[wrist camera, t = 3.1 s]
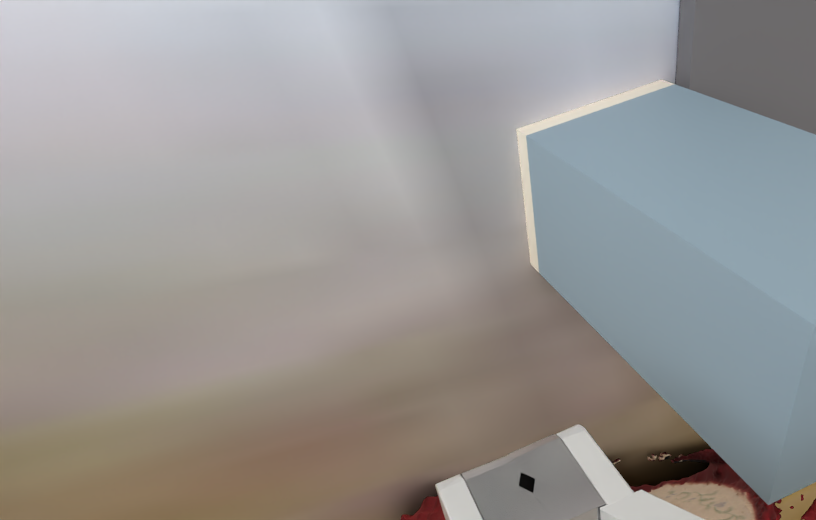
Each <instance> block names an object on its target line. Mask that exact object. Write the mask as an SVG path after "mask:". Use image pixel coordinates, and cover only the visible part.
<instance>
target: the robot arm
mask: <svg viewBox="0 0 816 520" xmlns="http://www.w3.org/2000/svg"><path fill="white" fill-rule="evenodd" d="M435 487H436V490H437V493H438V497H439V500H440V503H441V507H442V510H443V513H444V516H445V519H446V520H705V519H703V518H701V517H699V516H696V515H694V514H692V513H690V512H688V511H686V510H684V509H682V508H679V507H677V506H675V505H673V504H671V503H669V502H667V501H665V500H663V499H660V498H658V497H656V496H654V495H652V494H650V493H648V492H646V491H643V490H639V491H636V492H634V491H633V490H632V489H631V487H630V486H629V485H628V484H627V482H626V481H625V480H624V478H623V477H622V476H621V474H620V473H619V472H618V470H617V469H616V468H615V467H614V465H613V464H612V463H611V461H610V460H609V459H608V457H607V456H606V455H605V453H604V452H603V451H602V450H601V448H600V447H599V446H598V444H597V443H596V442H595V440H594V439H593V438H592V436H591V435H590V434H589V433H588V431H587V430H586V429H585V428H584V427H583V426H581V425H580V424H579V425H575V426H573V427H570V428H568V429H566V430H564V431H561V432H559V433H557V434H555V435H554V434H552V435H550V436H548V437H545V438H543V439H541V440H539V441H536V442H534V443H532V444H529V445H527V446H525V447H523V448H520V449H518V450H516V451H514V452H511V453H509V454H508V455H506V456H504V457H501V458H499V459H496V460H494V461H491V462H489V463H486V464H484V465H481V466H479V467H476V468H474V469H471V470H469V471H467V472H464V473H462V474H461V475H460V474H458V475H456V476H454V477H451V478H449V479H446V480H444V481H442V482H439V483H437V484H436V485H435Z"/></svg>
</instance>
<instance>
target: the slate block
mask: <svg viewBox="0 0 816 520" xmlns="http://www.w3.org/2000/svg"><path fill="white" fill-rule="evenodd" d="M516 131H517V141H518V150H519V160H520V169H521V179H522V188H523V198H524V207H525V217H526V227H527V236H528V246H529V255H530V264H531V265H532V266H533V267H534V268H535V269H536V270H537V271H538V272H539V273H540V274H541V275H542V276H543V277H544V278H545V279H546V280H547V281H548V282H549V283H550V284H551V285H552V286H553V288H554V289H555V290H556V291H557V292H558V293H559V294H560V295H561V296H562V297H563V298H564V299H565V300H566V301H567V302H568V303H569V304H570V305H571V306H572V307H573V308H574V309H575V310H576V311H577V312H578V313H579V314H580V315H581V316H582V317H583V318H584V319H585V320H586V321H587V322H588V323H589V324H590V325H591V326H592V327H593V328H594V329H595V330H596V331H597V332H598V333H599V334H600V335H601V336H602V337H603V338H604V339H605V340H606V341H607V342H608V343H609V344H610V345H611V346H612V347H613V348H614V349H615V350H616V351H617V352H618V353H619V354H620V355H621V356H622V357H623V358H624V359H625V361H626V362H627V363H628V364H629V365H630V366H631V367H632V368H633V369H634V370H635V371H636V372H637V373H638V374H639V375H640V376H641V377H642V378H643V379H644V380H645V381H646V382H647V383H648V384H649V385H650V386H651V387H652V388H653V389H654V390H655V391H656V392H657V393H658V394H659V395H660V396H661V397H662V398H663V399H664V400H665V401H666V402H667V403H668V404H669V405H670V406H671V407H672V408H673V409H674V410H675V411H676V412H677V413H678V414H679V415H680V416H681V417H682V418H683V419H684V420H685V421H686V422H687V423H688V424H689V425H690V426H691V427H692V428H693V429H694V430H695V431H696V432H697V434H698V435H699V436H700V437H701V438H702V439H703V440H704V441H705V442H706V443H707V444H708V445H709V446H710V447H711V448H712V449H713V450H714V451H715V452H716V453H717V454H718V455H719V456H720V457H721V458H722V459H723V460H724V461H725V462H726V463H727V464H728V465H729V466H730V467H731V468H732V469H733V470H734V471H735V472H736V473H737V474H738V475H739V476H740V477H741V478H742V479H743V480H744V481H745V482H746V483H747V484H748V485H749V486H750V487H751V488H752V489H753V490H754V491H755V492H756V493H757V494H758V495H759V496H760V497H761V498H762V499H763V500H764V501H765V502H766V503H767V504H768V505H770V504H772V503H774V502H776V501H778V500H780V499H782V498H784V497H786V496H788V495H790V494H792V493H794V492H796V491H798V490H800V489H802V488H804V487H806V486H808V485H810V484H812V483H814V482H816V135H815V134H812V133H810V132H807V131H804V130H801V129H799V128H796V127H793V126H790V125H787V124H785V123H782V122H779V121H776V120H773V119H771V118H768V117H765V116H762V115H759V114H757V113H754V112H751V111H748V110H746V109H743V108H740V107H737V106H734V105H732V104H729V103H726V102H723V101H720V100H718V99H715V98H712V97H709V96H706V95H704V94H701V93H698V92H695V91H693V90H690V89H687V88H684V87H681V86H679V85H676V84H673V83H670V82H667V81H665V80H662V79H661V80H658V81H655V82H652V83H649V84H646V85H644V86H641V87H638V88H635V89H632V90H629V91H626V92H623V93H620V94H617V95H614V96H611V97H609V98H606V99H603V100H600V101H597V102H594V103H591V104H588V105H585V106H582V107H579V108H576V109H574V110H571V111H568V112H565V113H562V114H559V115H556V116H553V117H550V118H547V119H544V120H541V121H539V122H536V123H533V124H530V125H527V126H524V127H521V128H518V129H516Z"/></svg>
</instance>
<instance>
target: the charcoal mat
mask: <svg viewBox="0 0 816 520" xmlns="http://www.w3.org/2000/svg"><path fill="white" fill-rule="evenodd" d="M676 85H679V86H681V87H684V88H687V89H690V90H693V91H695V92H698V93H701V94H704V95H706V96H709V97H712V98H715V99H718V100H720V101H723V102H726V103H729V104H732V105H734V106H737V107H740V108H743V109H746V110H748V111H751V112H754V113H757V114H759V115H762V116H765V117H768V118H771V119H773V120H776V121H779V122H782V123H785V124H787V125H790V126H793V127H796V128H799V129H801V130H804V131H807V132H810V133H812V134H815V135H816V0H680V17H679V35H678V52H677V69H676Z"/></svg>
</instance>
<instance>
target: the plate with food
mask: <svg viewBox="0 0 816 520" xmlns="http://www.w3.org/2000/svg"><path fill="white" fill-rule="evenodd" d="M681 455H683V454H681ZM681 455H679V456H678V458H676V457H675V459H673V460H671V462H672V463H678V462H684V461H691V462H693V461H695V462H700V463H710V465H709V466H708V468H707V469H705V470H704V471H701V472H698V473H696V474H694V475H692V476H690V477H687V478H682V479H681V480H670V481H667V482H666V481H663V482H661V483H660V484H658V485H656V486H651V485H641V486H639V487H634V486H630V487H631V489H632V490H633V491H634V492H636V491H639V490H643V491H646V492H648V493H650V494H652V495H654V496H656V497H658V498H660V499H663V500H665V501H667V502H669V503H671V504H673V505H675V506H677V507H679V508H682V509H684V510H686V511H688V512H690V513H692V514H694V515H696V516H699V517H701V518H703V519H705V520H779V519H780V518H781V515H780V514H779V513H780V512H781V511H782V510H781V509H779V508H777V507H776V506H775V503H781V501H782V500H781V499H780V500H778V501H776V502H774V503H772V504H770V505H768V504H767V503H766V502H765V501H764V500H763V499H762V498H761V497H760V496H759V495H758V494H757V493H756V492H755V491H754V490H753V489H752V488H751V487H750V486H749V485H748V484H747V483H746V482H745V481H744V480H743V479H742V478H741V477H740V476H739V475H738V474H737V473H736V472H735V471H734V470H733V469H732V468H731V467H730V466H729V465H728V464H727V463H726V462H725V461H724V460H723V459H722V458H721V457H720V456H719V455H718V454H717V453H716V452H715V451H714V450H713V449H705V450H701V451H699V452H694V453H693V454H689V455H688V456H681ZM670 456H671V455H669V454H668V453H666V452H663V453H661V454H660V456H659V458H658V460H659V461H663V460H665V459H669V458H670ZM652 457H653V458H650V457H648V458H647V459H648V460H650V461H654V460H656V458H657V455H654V454H652ZM620 461H621V460H620V459H616V460H615V461H614V462H612V461H611V463H612V464H613V465H615V464H617V463H619V462H620ZM802 500H803V495H802V494H801V501H802ZM790 508H791V509H793V508H794V507H793V506H791V507H790ZM802 519H805V520H816V499H815V500H814V502H813V504H812V505H811V506H810V508H809V509H808V510H807V511H806V512H805V514H804V515H803V516H802V517H801V520H802ZM401 520H446V519H445V516H444V513H443V510H442V507H441V503H440V500H439V497H438V496H436V497H426V498H425V499H424V500H423V502H422V505H421V507H420V509H419V510H418V511H417V512H416V513H415V514H414V515H412V516H411V515H407V514H404V515H402V516H401Z"/></svg>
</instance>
